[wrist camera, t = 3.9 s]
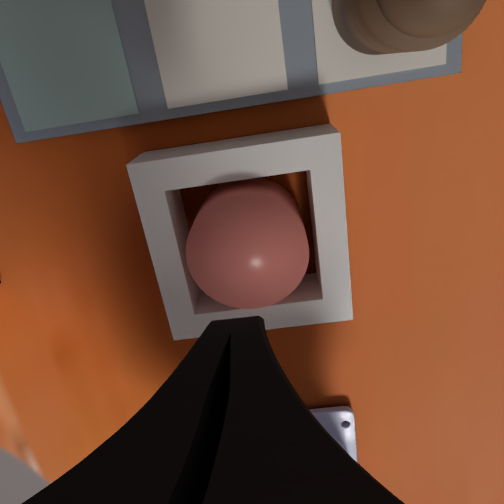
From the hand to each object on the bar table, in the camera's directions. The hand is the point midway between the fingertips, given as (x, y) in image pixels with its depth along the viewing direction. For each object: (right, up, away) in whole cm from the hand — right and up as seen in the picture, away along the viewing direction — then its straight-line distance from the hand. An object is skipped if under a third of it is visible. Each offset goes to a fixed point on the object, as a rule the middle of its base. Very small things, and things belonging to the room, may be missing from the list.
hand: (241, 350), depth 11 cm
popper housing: (0, +4, +9) cm, 9 cm away
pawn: (+5, +11, +4) cm, 13 cm away
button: (0, +4, +8) cm, 9 cm away
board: (-1, +11, +5) cm, 12 cm away
